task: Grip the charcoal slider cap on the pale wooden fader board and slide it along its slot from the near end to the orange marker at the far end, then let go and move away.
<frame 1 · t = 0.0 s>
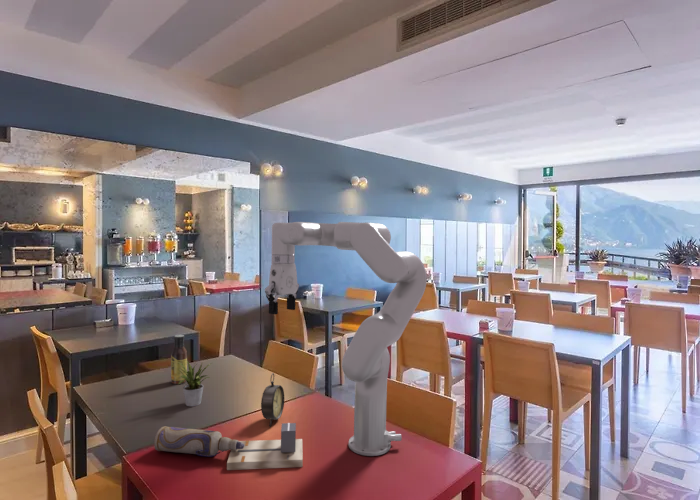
hand: (282, 311, 144), 37 cm above the table, tool pointing down, fingers open, 9 cm apart
alarm clock: (272, 421, 147), on the table
fader board: (266, 457, 123), on the table
sauce bottle: (178, 382, 183), on the table
fader slider: (288, 437, 123), point 5 cm above the table, slide at -6.0 cm
decorative bottle: (196, 455, 123), on the table, touching fader board
house plant: (189, 404, 160), on the table
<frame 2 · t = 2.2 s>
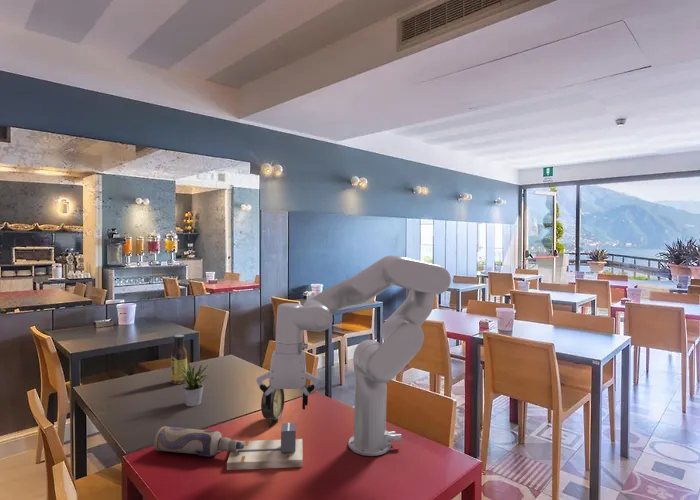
hand: (286, 407, 123), 14 cm above the table, tool pointing down, fingers open, 9 cm apart
nothing on the table moved.
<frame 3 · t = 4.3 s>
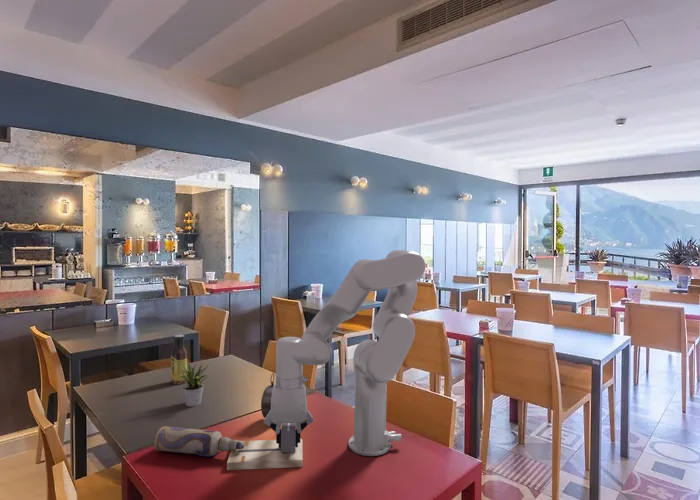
hand: (288, 444, 123), 3 cm above the table, tool pointing down, fingers closed on fader slider, 4 cm apart
fader slider: (288, 437, 123), point 5 cm above the table, slide at -6.0 cm, touching gripper
everything else where it was.
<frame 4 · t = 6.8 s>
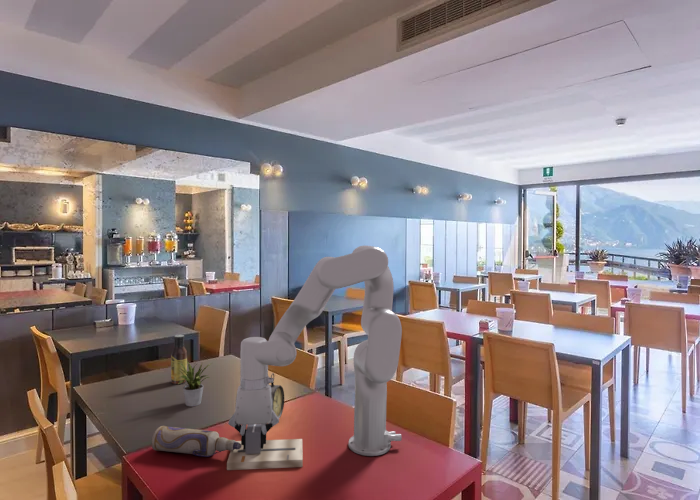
hand: (253, 446, 122), 3 cm above the table, tool pointing down, fingers closed on fader slider, 4 cm apart
fader slider: (253, 438, 122), point 5 cm above the table, slide at 3.6 cm, touching gripper
decorative bottle: (194, 455, 123), on the table, touching gripper
everything else where it was.
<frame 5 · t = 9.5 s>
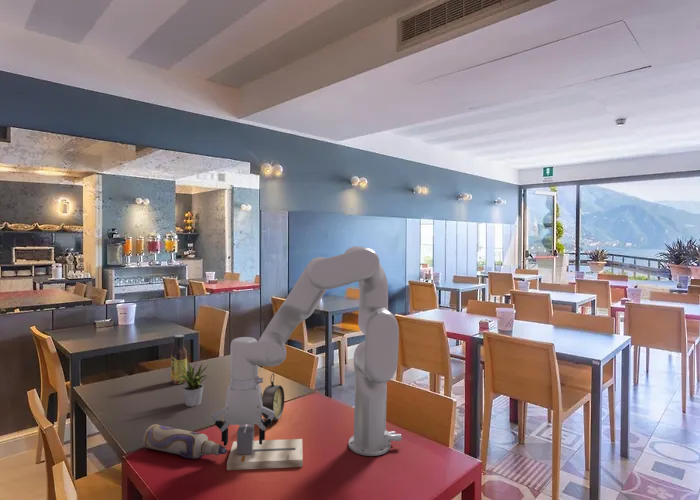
hand: (243, 442, 122), 4 cm above the table, tool pointing down, fingers open, 9 cm apart
fader slider: (245, 438, 122), point 5 cm above the table, slide at 5.9 cm
decorative bottle: (182, 455, 123), on the table
everything else where it was.
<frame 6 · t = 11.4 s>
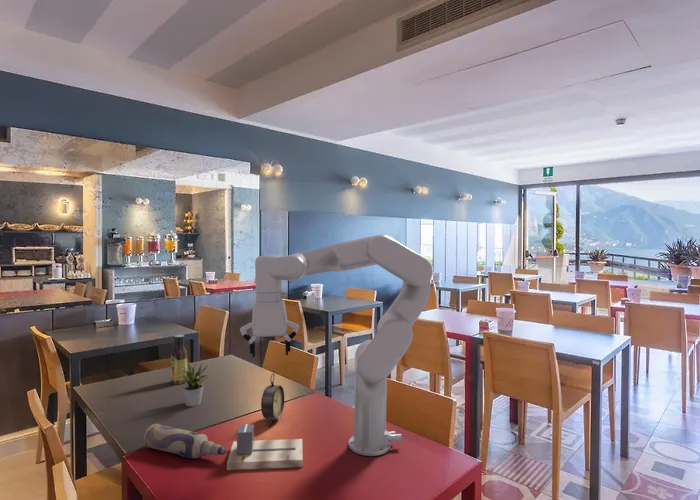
hand: (270, 354, 129), 27 cm above the table, tool pointing down, fingers open, 9 cm apart
nothing on the table moved.
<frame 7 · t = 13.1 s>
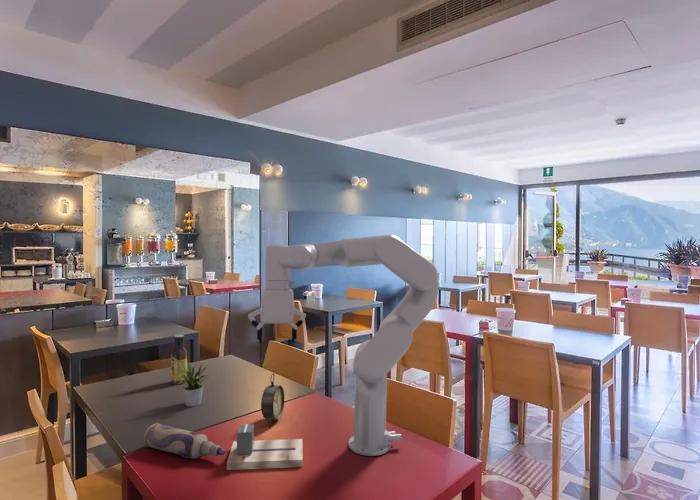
hand: (277, 341, 132), 30 cm above the table, tool pointing down, fingers open, 9 cm apart
nothing on the table moved.
at the end: fader slider slide at 5.9 cm; the gripper is holding nothing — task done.
